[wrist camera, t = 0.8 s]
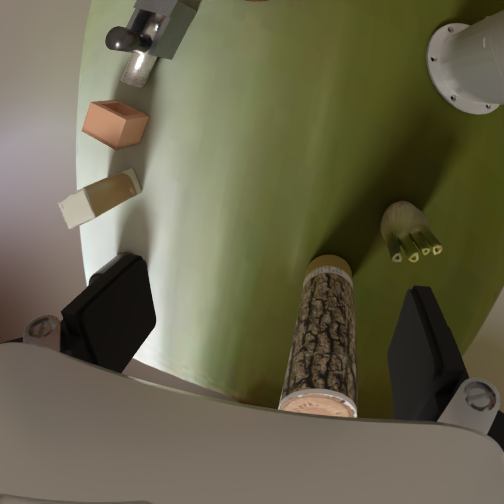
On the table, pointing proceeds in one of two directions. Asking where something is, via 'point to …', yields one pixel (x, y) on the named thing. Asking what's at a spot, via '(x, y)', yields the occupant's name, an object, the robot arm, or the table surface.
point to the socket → (114, 123)
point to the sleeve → (163, 24)
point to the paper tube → (324, 344)
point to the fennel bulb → (407, 232)
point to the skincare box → (98, 198)
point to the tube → (136, 49)
